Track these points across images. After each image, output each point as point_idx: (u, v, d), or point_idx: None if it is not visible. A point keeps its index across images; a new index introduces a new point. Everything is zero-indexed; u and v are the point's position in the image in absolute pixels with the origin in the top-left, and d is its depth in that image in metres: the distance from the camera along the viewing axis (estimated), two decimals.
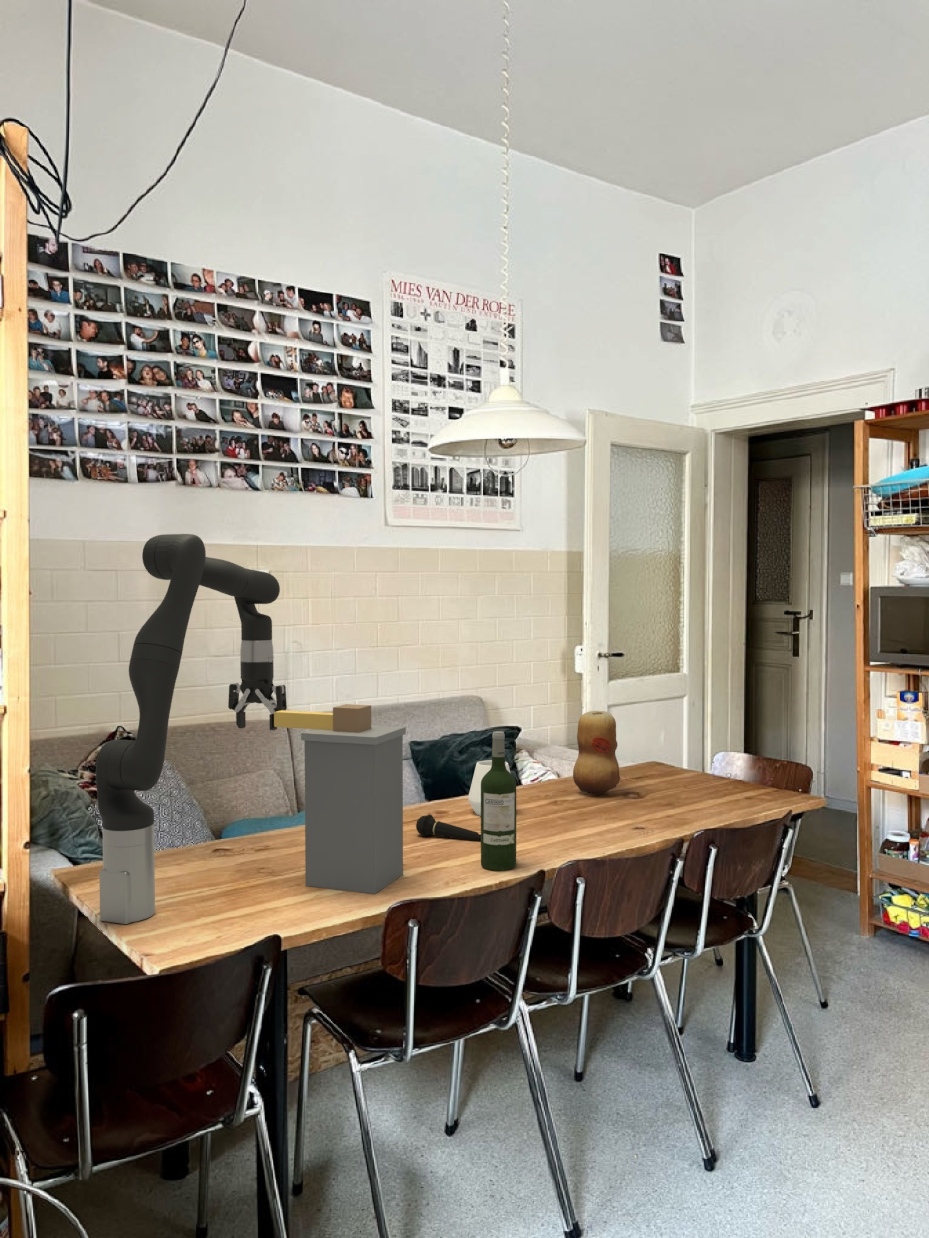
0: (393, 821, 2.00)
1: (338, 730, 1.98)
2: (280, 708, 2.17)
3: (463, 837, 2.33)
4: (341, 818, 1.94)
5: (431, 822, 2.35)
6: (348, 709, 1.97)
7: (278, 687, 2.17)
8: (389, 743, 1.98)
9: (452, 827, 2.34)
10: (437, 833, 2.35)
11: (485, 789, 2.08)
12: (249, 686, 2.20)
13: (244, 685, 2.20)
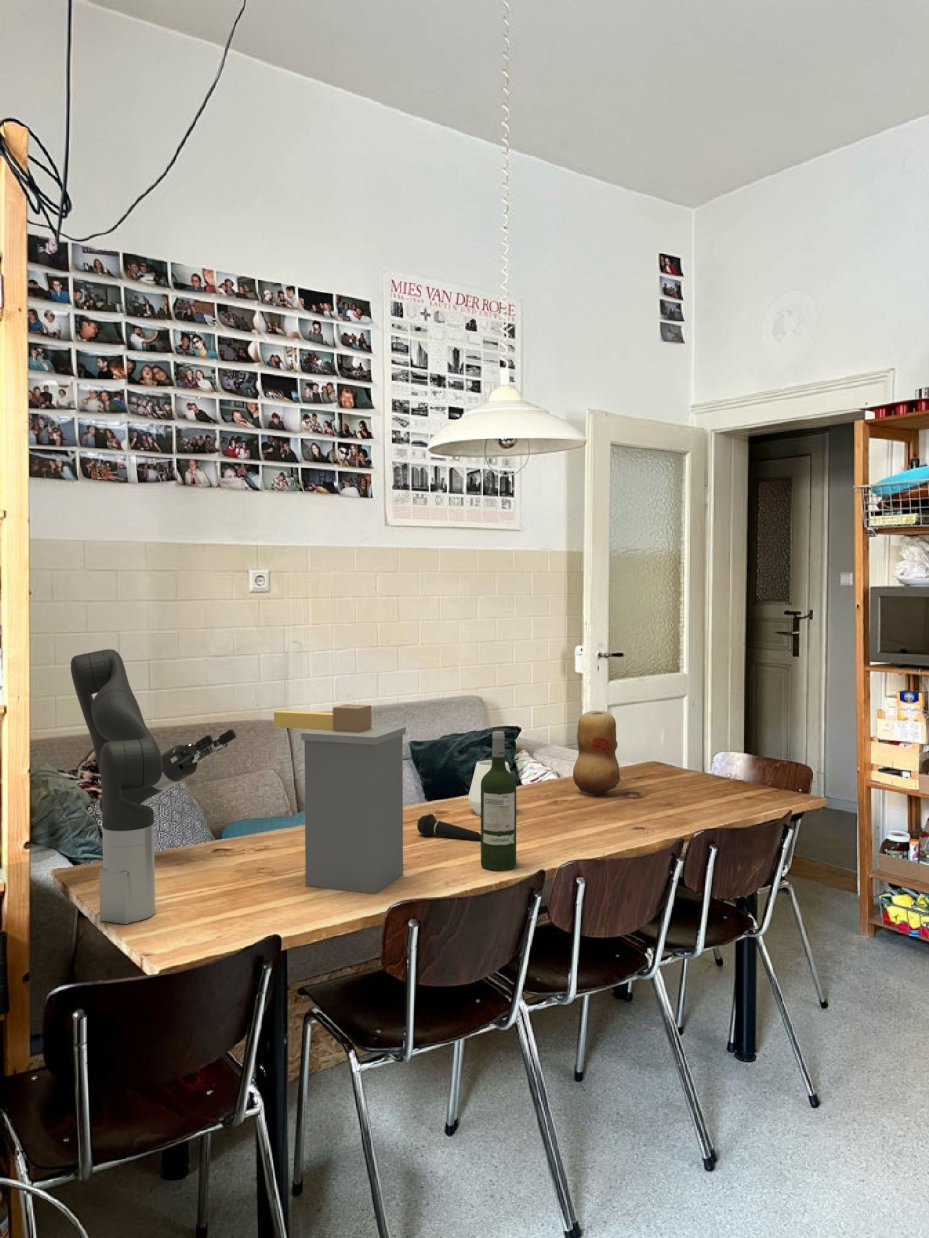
0: (393, 821, 2.00)
1: (338, 730, 1.98)
2: None
3: (464, 837, 2.33)
4: (341, 818, 1.94)
5: (432, 822, 2.35)
6: (348, 709, 1.97)
7: None
8: (389, 743, 1.98)
9: (453, 827, 2.34)
10: (438, 833, 2.35)
11: (485, 789, 2.08)
12: None
13: None
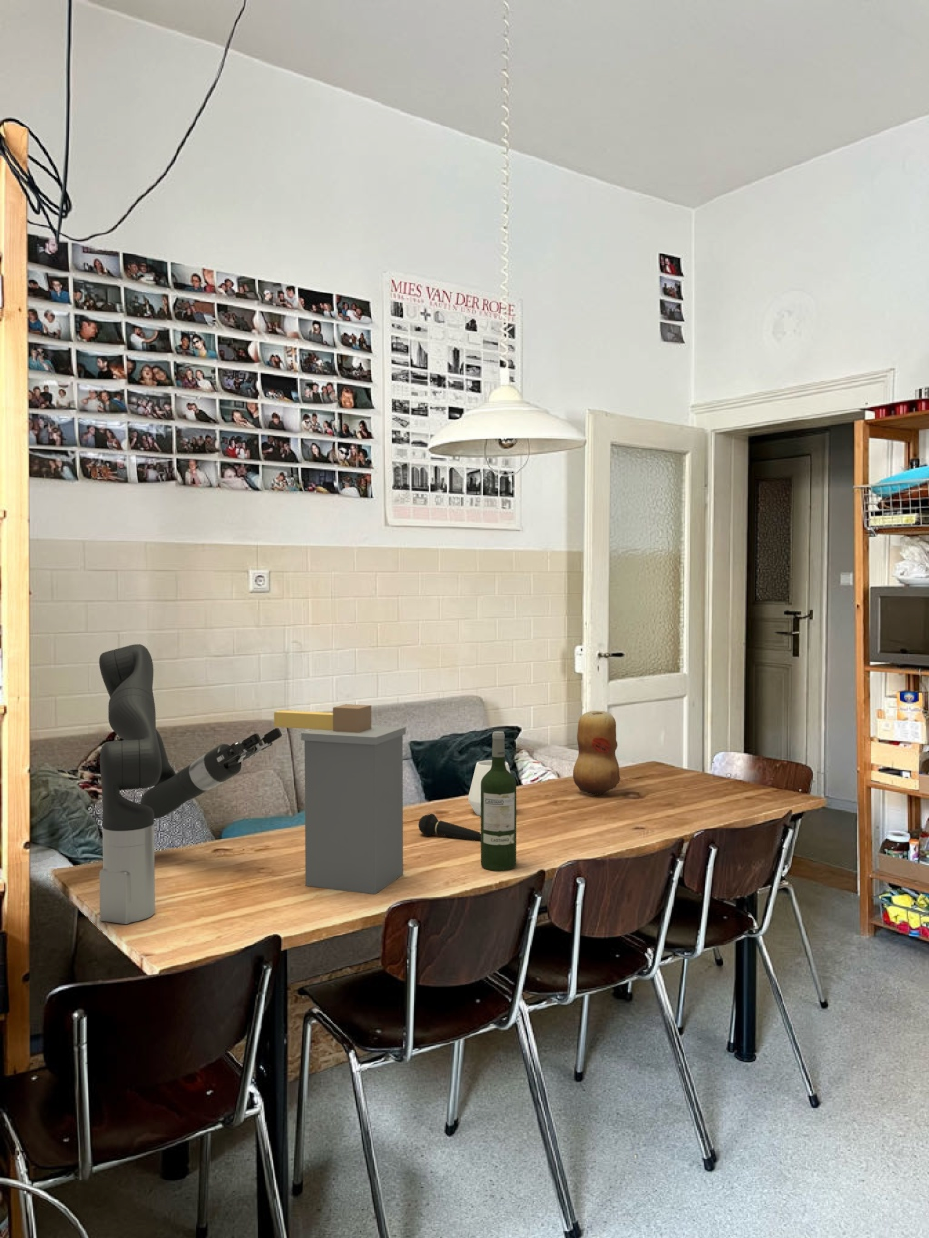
0: (393, 821, 2.00)
1: (338, 730, 1.98)
2: None
3: (465, 836, 2.33)
4: (341, 818, 1.94)
5: (433, 821, 2.36)
6: (348, 709, 1.97)
7: None
8: (389, 743, 1.98)
9: (454, 826, 2.34)
10: (439, 832, 2.35)
11: (485, 789, 2.08)
12: None
13: None
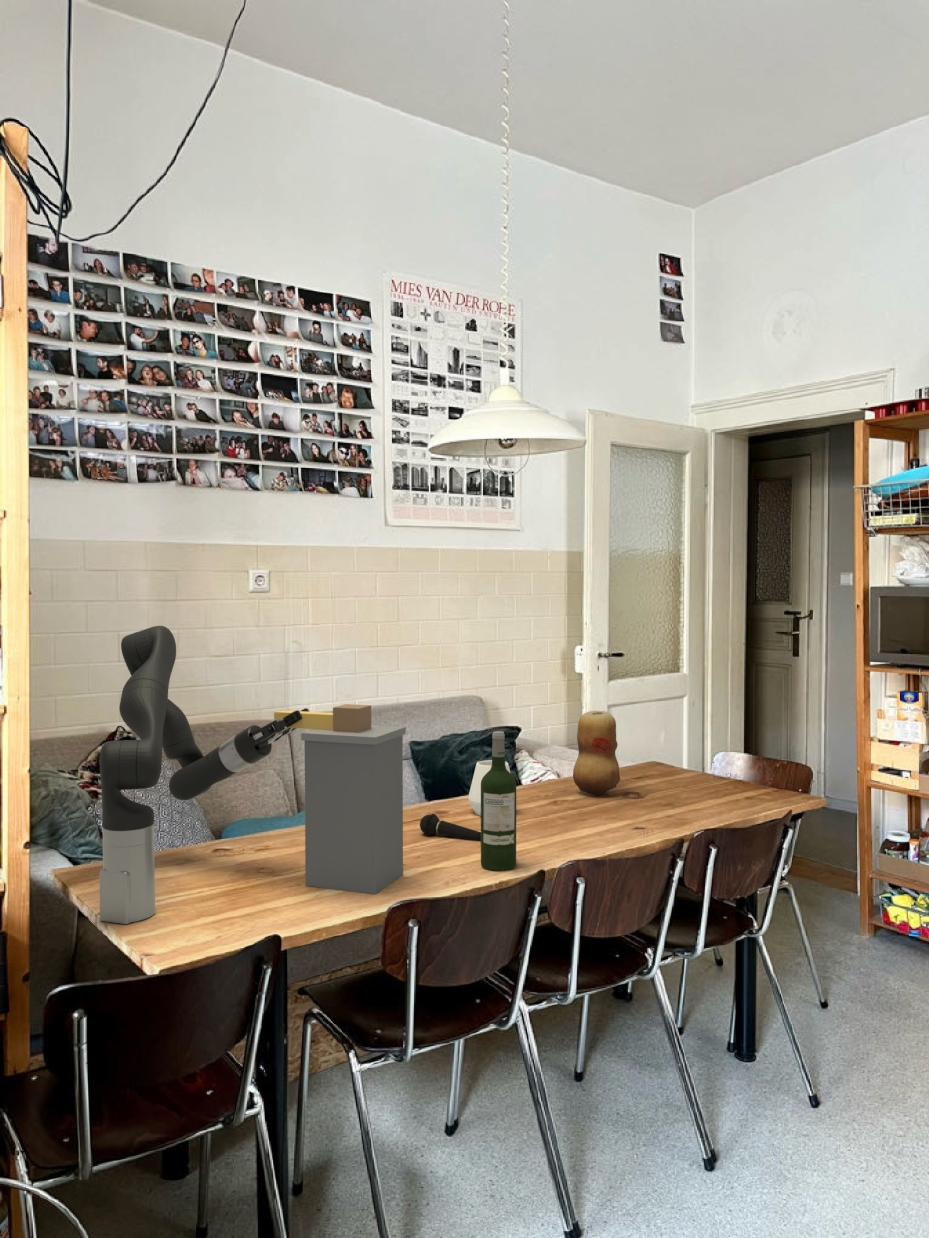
0: (393, 821, 2.00)
1: (338, 730, 1.98)
2: None
3: (466, 836, 2.33)
4: (341, 818, 1.94)
5: (435, 821, 2.36)
6: (348, 709, 1.97)
7: None
8: (389, 743, 1.98)
9: (455, 826, 2.35)
10: (440, 832, 2.35)
11: (485, 789, 2.08)
12: None
13: None
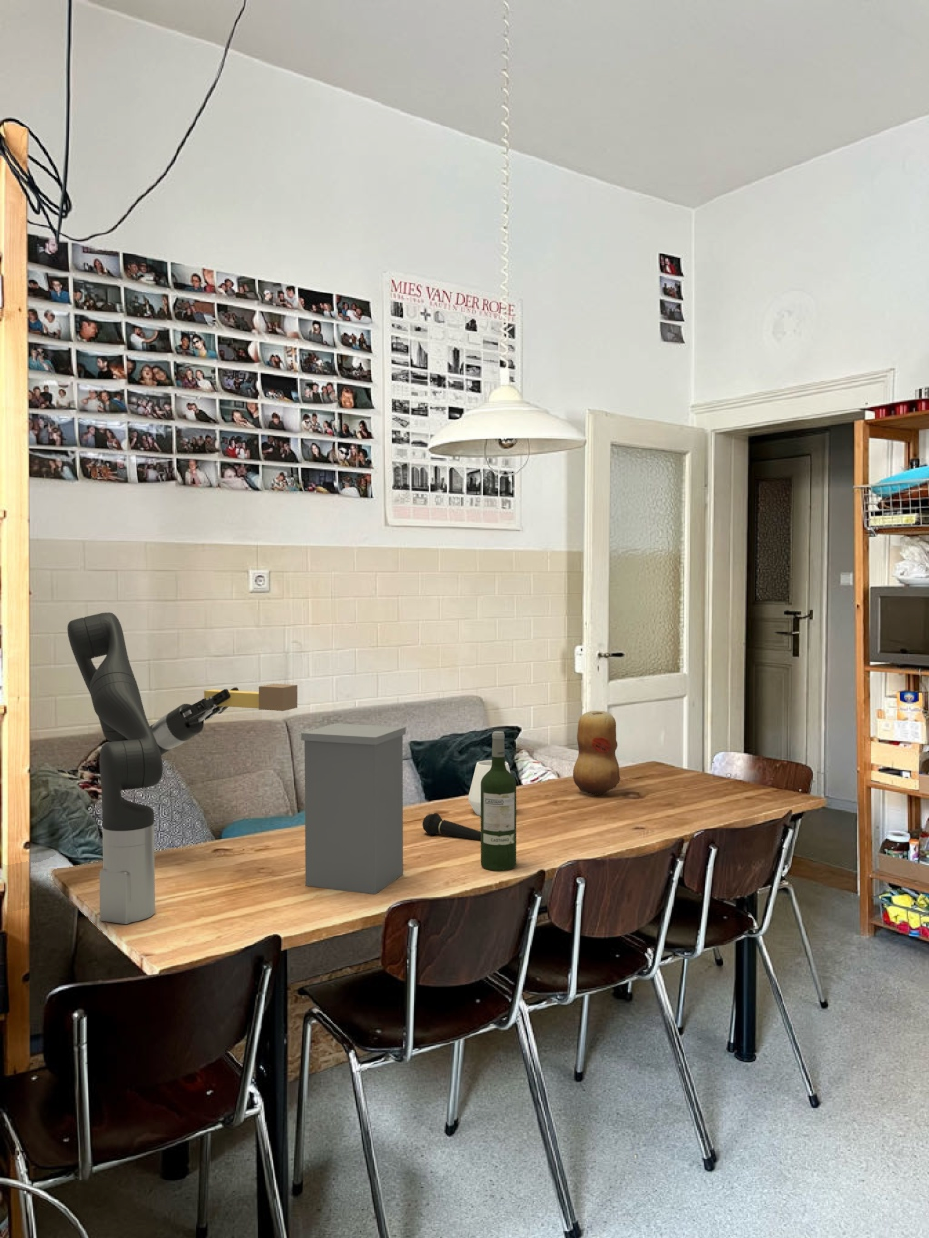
0: (393, 821, 2.00)
1: (263, 708, 2.04)
2: None
3: (467, 836, 2.33)
4: (341, 818, 1.94)
5: (437, 821, 2.37)
6: (273, 688, 2.03)
7: None
8: (389, 743, 1.98)
9: (457, 826, 2.35)
10: (442, 832, 2.36)
11: (484, 789, 2.08)
12: None
13: None
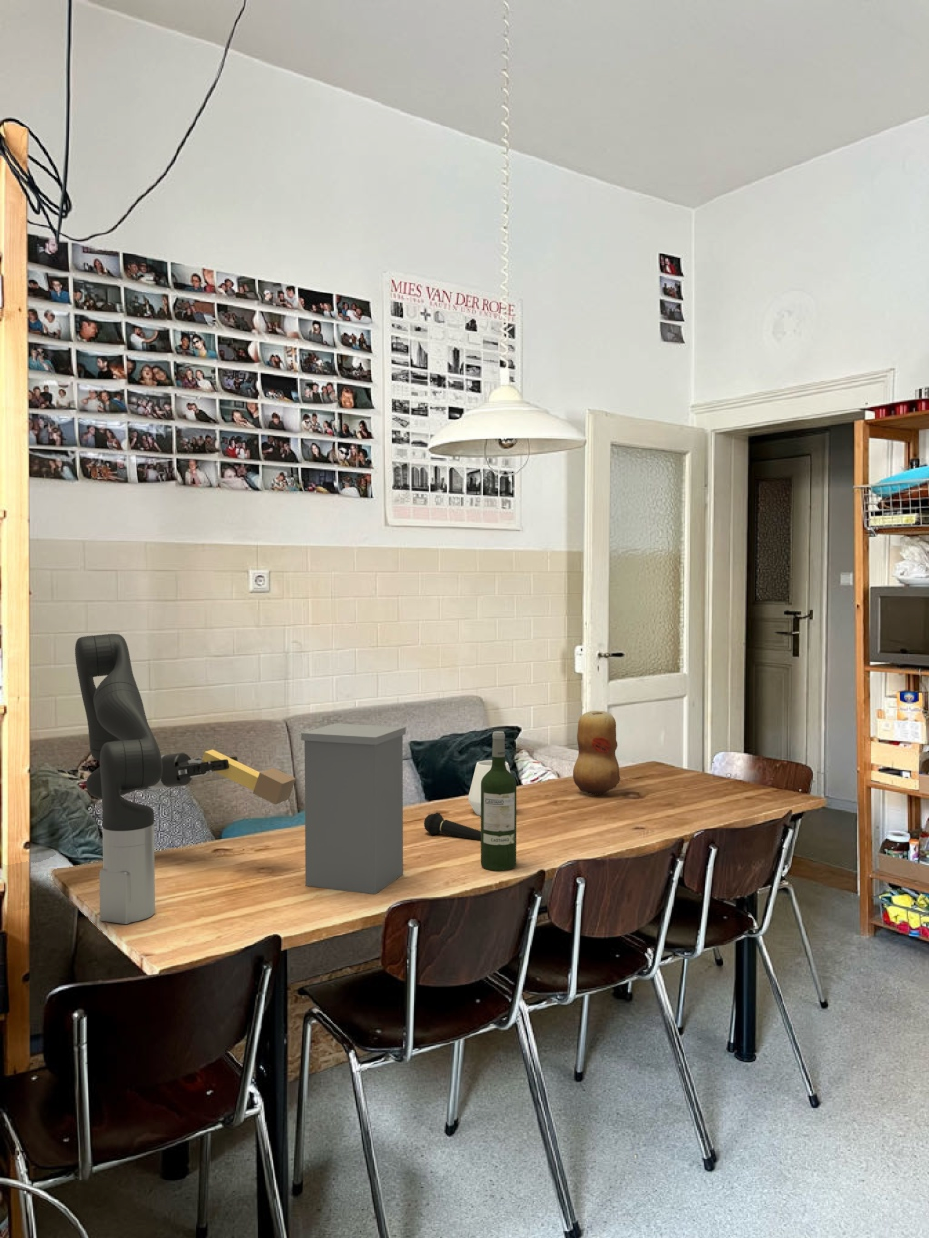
0: (393, 821, 2.00)
1: (257, 794, 2.07)
2: None
3: (468, 836, 2.33)
4: (341, 818, 1.94)
5: (438, 820, 2.37)
6: (273, 780, 2.06)
7: None
8: (389, 743, 1.98)
9: (458, 826, 2.35)
10: (444, 831, 2.36)
11: (485, 789, 2.08)
12: (186, 764, 2.14)
13: (181, 765, 2.13)
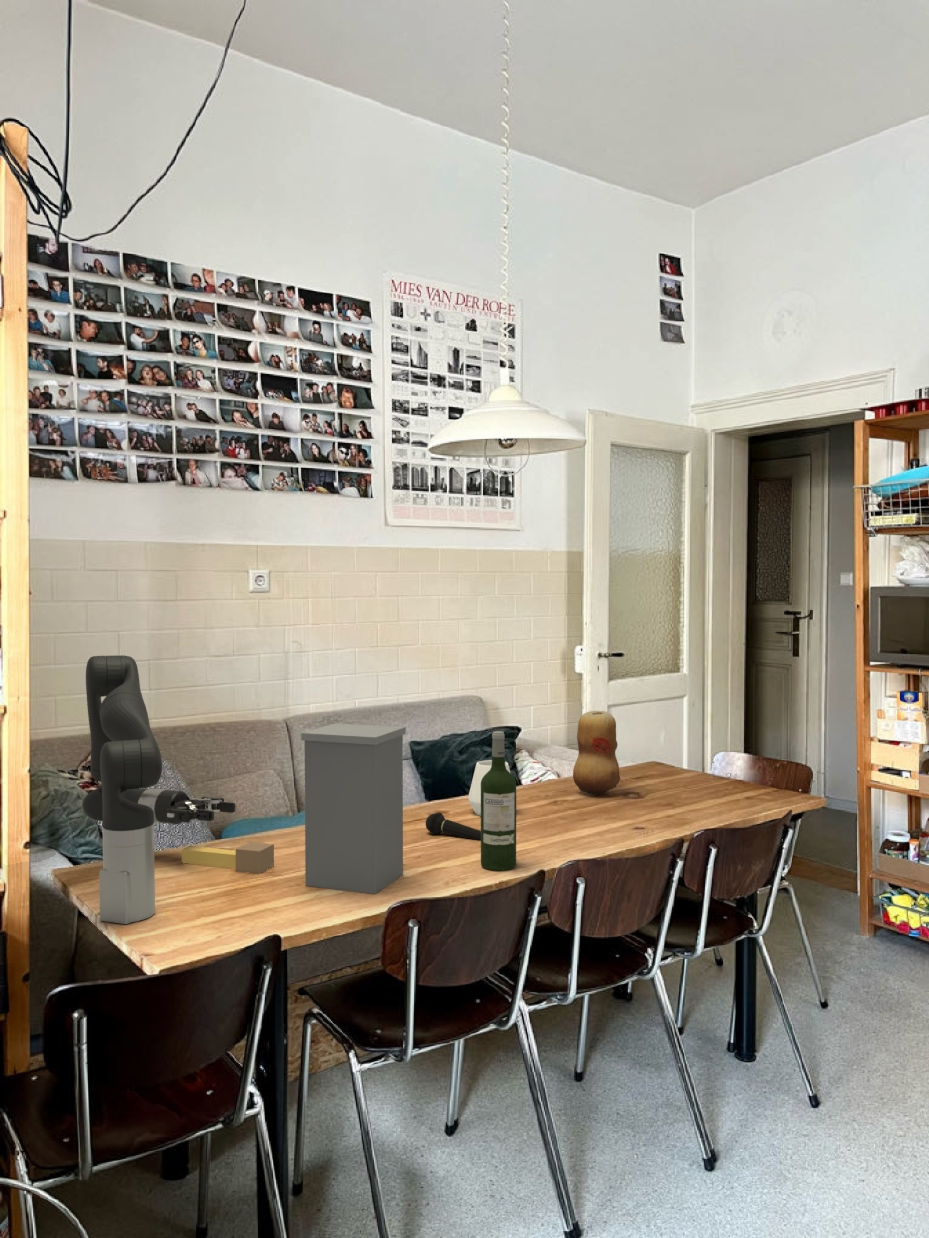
0: (393, 821, 2.00)
1: (240, 871, 2.07)
2: (221, 798, 2.20)
3: (470, 836, 2.33)
4: (341, 818, 1.94)
5: (440, 820, 2.37)
6: (250, 851, 2.06)
7: None
8: (389, 743, 1.98)
9: (459, 826, 2.35)
10: (445, 831, 2.36)
11: (485, 789, 2.08)
12: (182, 804, 2.14)
13: (177, 805, 2.13)
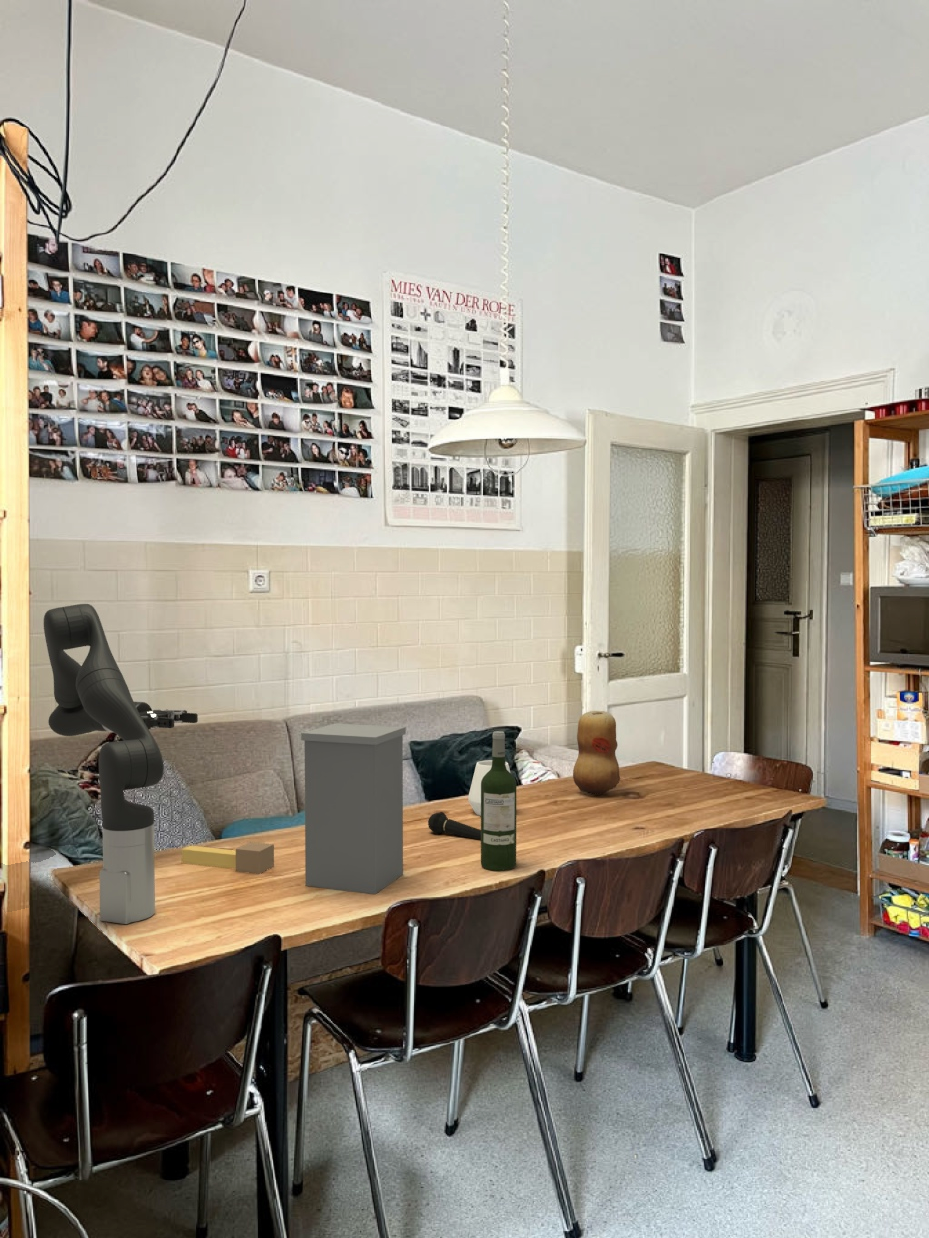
0: (393, 821, 2.00)
1: (240, 871, 2.07)
2: None
3: (471, 836, 2.34)
4: (341, 818, 1.94)
5: (442, 820, 2.38)
6: (250, 851, 2.06)
7: None
8: (389, 743, 1.98)
9: (461, 825, 2.35)
10: (447, 831, 2.37)
11: (485, 789, 2.08)
12: (144, 714, 2.17)
13: (140, 715, 2.15)
